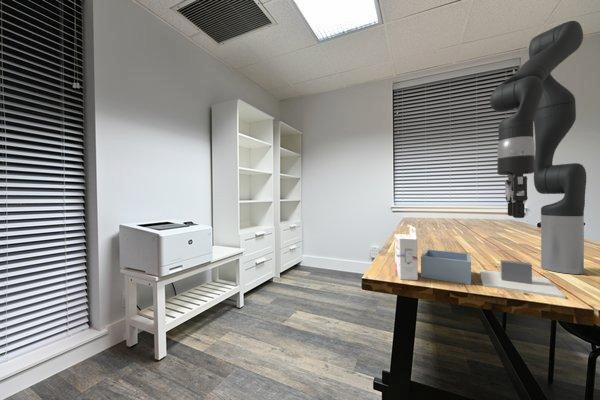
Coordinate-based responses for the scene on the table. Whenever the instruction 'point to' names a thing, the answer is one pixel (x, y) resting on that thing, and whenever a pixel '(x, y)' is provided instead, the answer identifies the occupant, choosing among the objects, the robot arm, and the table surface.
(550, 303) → the table surface
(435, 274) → the gray open box
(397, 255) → the ink cartridge box
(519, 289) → the lid
